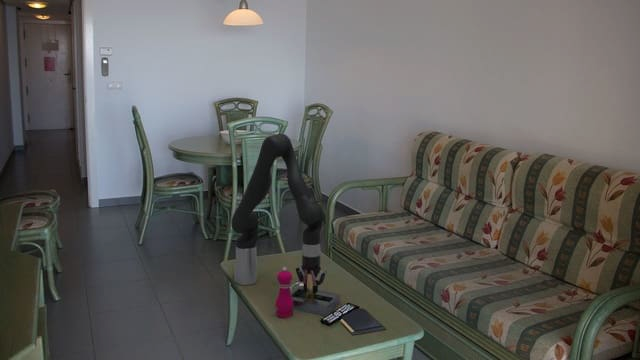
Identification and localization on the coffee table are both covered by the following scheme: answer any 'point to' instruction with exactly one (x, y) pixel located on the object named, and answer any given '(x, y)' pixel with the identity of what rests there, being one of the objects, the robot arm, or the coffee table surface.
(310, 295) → the bolt
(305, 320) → the coffee table surface
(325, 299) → the keyhole plate
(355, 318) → the wallet
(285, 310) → the pepper mill
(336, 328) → the coffee table surface
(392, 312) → the coffee table surface
